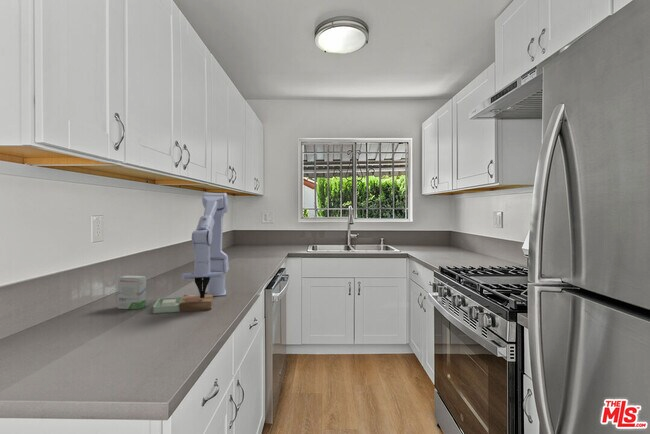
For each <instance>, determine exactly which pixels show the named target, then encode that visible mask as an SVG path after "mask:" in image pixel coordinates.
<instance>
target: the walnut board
mask: <svg viewBox="0 0 650 434" xmlns="http://www.w3.org/2000/svg"><path fill="white" fill-rule="evenodd" d="M199 294H200V293H199ZM199 294H196V293H195V295H199ZM188 295H189V294H184V295H183V296H182V297H183V298H182V300H181V302H180V303H179V310H180V312H196V311H197V312H198V311H211V310H212V307H213V302H214V296H213V294H207V293H205V297H204V298H201V299H200V302H187V296H188ZM180 312H179V313H180Z"/></svg>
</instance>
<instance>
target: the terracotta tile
mask: <svg viewBox="0 0 650 434" xmlns="http://www.w3.org/2000/svg"><path fill="white" fill-rule="evenodd" d="M187 295H188V296H187V302H200V299H201V298H200V293H199V295H196V294H187Z"/></svg>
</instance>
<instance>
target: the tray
mask: <svg viewBox="0 0 650 434" xmlns="http://www.w3.org/2000/svg"><path fill="white" fill-rule="evenodd" d="M182 298H183V296H174V297H173V296H171V297H170V296H169V297H159V298H158V299H157V300H156V302H155V303H154V304H153V306H152V314H167V313H180V310H179V303H180V302H181V300H182ZM168 299H176V305H169V306H162V302H163V300H168Z"/></svg>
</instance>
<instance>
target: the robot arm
mask: <svg viewBox="0 0 650 434" xmlns="http://www.w3.org/2000/svg"><path fill="white" fill-rule="evenodd" d="M228 196H229V195H228V194H227V192H204V193H203V194H202V199H201V201H202V205H203V208H204V211H203V215H202V216H200V218H199V219H198V223H197V226H196V229H195V230H193V231H192V232H191V244H192V250H193V255H194V256H193V259H194V262H193V266H194V268H193V269H194V270H193V271H194V272H187V273H185V272H184V273H181V280H183V281H184V280H193V279H194V283H195V285H196V287H197V289H198V293H199V294H200V298H204V297H205V294H213V297H221V296H226V295H227V289H226V274H227V272H228V271H229V269H230V264H229V262H230V261H229V255H228V254H227V253H225V251H223V233H224V232H223V230H224V229H223V227H224V226H223V225H224V224H223V223H224V217H225V216H224V215H225V214H226V213H228V210H229V197H228ZM206 291H207V293H206Z"/></svg>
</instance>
